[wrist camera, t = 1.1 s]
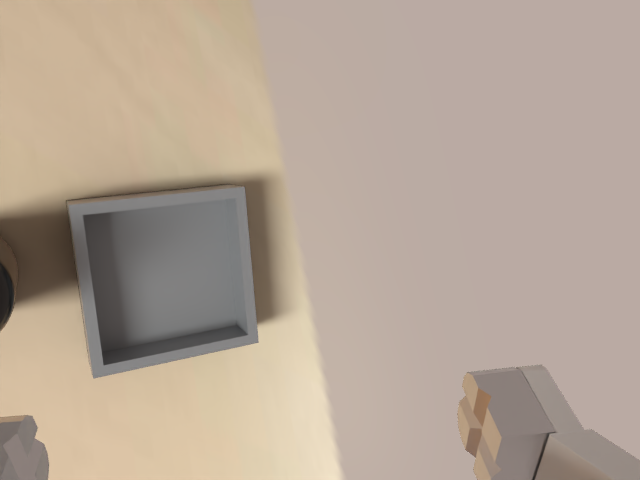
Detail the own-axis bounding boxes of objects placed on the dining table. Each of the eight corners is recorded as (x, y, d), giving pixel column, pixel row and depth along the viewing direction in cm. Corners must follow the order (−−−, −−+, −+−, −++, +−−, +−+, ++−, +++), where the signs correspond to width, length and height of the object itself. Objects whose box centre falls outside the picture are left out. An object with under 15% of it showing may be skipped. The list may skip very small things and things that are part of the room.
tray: (66, 200, 44) (68, 204, 41) (229, 184, 49) (244, 186, 46) (88, 360, 47) (93, 378, 43) (243, 329, 52) (258, 342, 48)
